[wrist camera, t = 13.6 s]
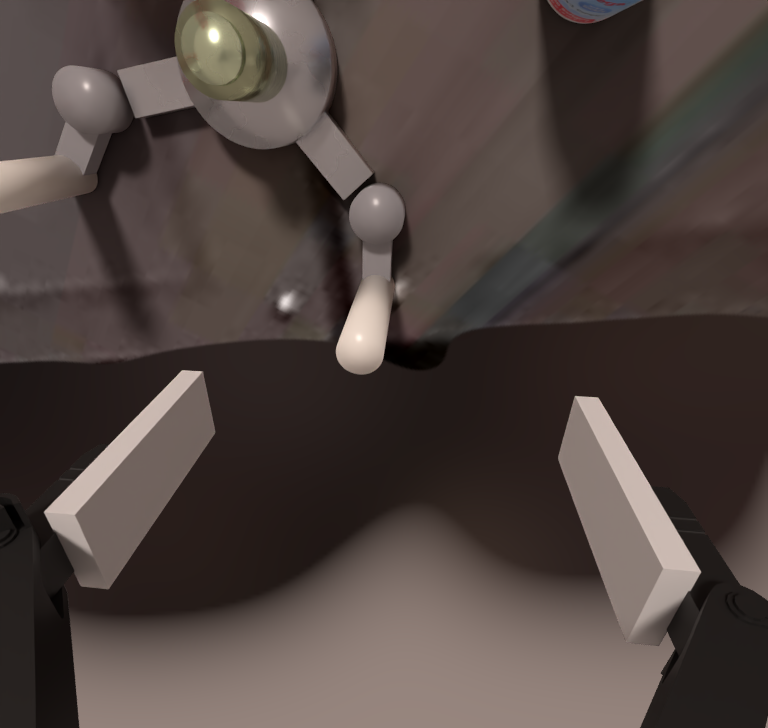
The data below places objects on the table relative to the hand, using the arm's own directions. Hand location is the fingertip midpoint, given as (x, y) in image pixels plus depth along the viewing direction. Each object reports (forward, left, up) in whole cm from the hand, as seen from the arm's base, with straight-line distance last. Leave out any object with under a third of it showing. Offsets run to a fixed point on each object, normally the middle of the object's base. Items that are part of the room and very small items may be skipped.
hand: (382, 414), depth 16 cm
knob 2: (+2, 0, -19) cm, 19 cm away
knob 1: (+23, 0, -19) cm, 30 cm away
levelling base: (+12, -10, -19) cm, 25 cm away
